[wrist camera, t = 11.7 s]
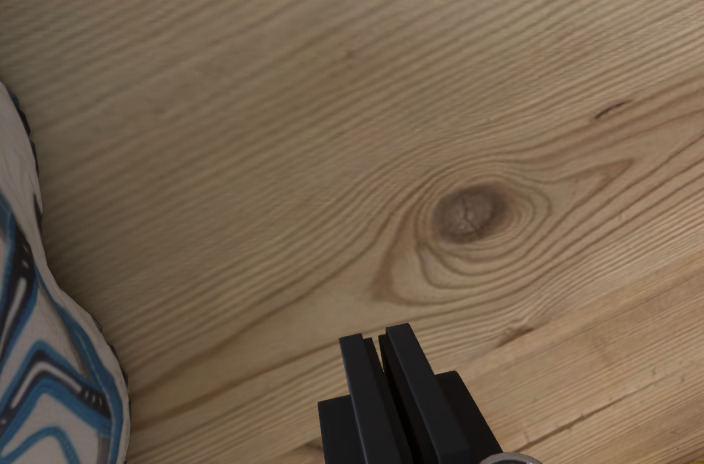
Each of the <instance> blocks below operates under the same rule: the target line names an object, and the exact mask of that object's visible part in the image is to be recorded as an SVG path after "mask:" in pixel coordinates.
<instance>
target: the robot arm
mask: <svg viewBox="0 0 704 464" xmlns="http://www.w3.org/2000/svg"><path fill="white" fill-rule="evenodd" d="M378 339H379V346H380V352H381V358H382V364H383V369H382V366H381V363H380V360H379V357H378V354H377V352H376V349H375V346H374V343H373V340H372V338H371V337H370V338H366V339H363V337H362V334H361V333H359V334H355V335H350V336H346V337H341V338H339V342H340V348H341V353H342V358H343V363H344V368H345V373H346V378H347V383H348V388H349V393H350V395H346V396H341V397H337V398H333V399H329V400H324V401H320V402H318V411H319V419H320V427H321V435H322V443H323V450H324V458H325V464H543V463H542V462H540V461H538V460H536V459H534V458H532V457H530V456H528V455H524V454H520V453H509V452H503V451H502V449H501V447H500V445H499V444H498V442H497V440H496V438H495V437H494V435H493V433H492V431H491V430H490V428H489V426H488V424H487V423H486V421H485V419H484V417H483V416H482V414H481V412H480V410H479V409H478V407H477V405H476V403H475V402H474V400H473V398H472V396H471V395H470V393H469V391H468V389H467V388H466V386H465V384H464V382H463V381H462V379H461V377H460V376H459V374H458V373H457V372H456V371H455V370H454V371H450V372H445V373H441V374H437V375H434V373H433V371H432V369H431V366H430V364H429V362H428V360H427V358H426V356H425V354H424V352H423V350H422V348H421V346H420V344H419V342H418V340H417V338H416V336H415V334H414V332H413V330H412V328H411V326H410V324H409V323H404V324H400V325H395V326H391V327H386V334H384V335H379V336H378ZM383 370H384V372H383Z"/></svg>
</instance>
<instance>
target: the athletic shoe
mask: <svg viewBox="0 0 704 464" xmlns="http://www.w3.org/2000/svg"><path fill="white" fill-rule="evenodd" d="M29 135H30V128H29V125H28V123H27V120H26V117H25V114H24V113H23V112H22V111H21V109H20V106H19V102H18V99H17V98H16V97H15V96H14V94H13V93H12V92H11V91H10V90H9V88H7V87H6V86H5V85H4V84H2V83H1V82H0V464H126V463H127V461H126V452H127V448H128V445H129V436H130V424H131V402H130V401H129V398H128V393H127V385H128V378H127V375H126V373H125V372H124V370H123V369H122V367H121V365H120V363H119V360H118V357H117V354H116V352H115V350H114V347H113V346H111V345H109V344H107V343H106V341H105V339H104V337H103V335H102V328H101V326H100V324H99V323H98V322H97V321H96V320H95V318H94V317H92V316H91V315H90V314H89V313H88V312H87V311H85V310H84V309H83V308H82V307H81V306H79V305H78V304H77V303H76V302H75V301H74V300H73V299H71V298H70V297H69V296H68V295H67V294H66V293H65V292H64V291H63V290H62V289H61V288H60V287H59V286H58V285H57V283H56V281H55V279H54V277H53V275H52V274H51V272H50V270H49V268H48V266H47V262H46V257H45V251H44V246H43V240H42V232H41V220H42V214H43V207H42V200H41V194H40V187H39V170H38V164H37V158H36V152H35V145H34V143H33V142H32V141H31V140H30V139H29Z"/></svg>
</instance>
